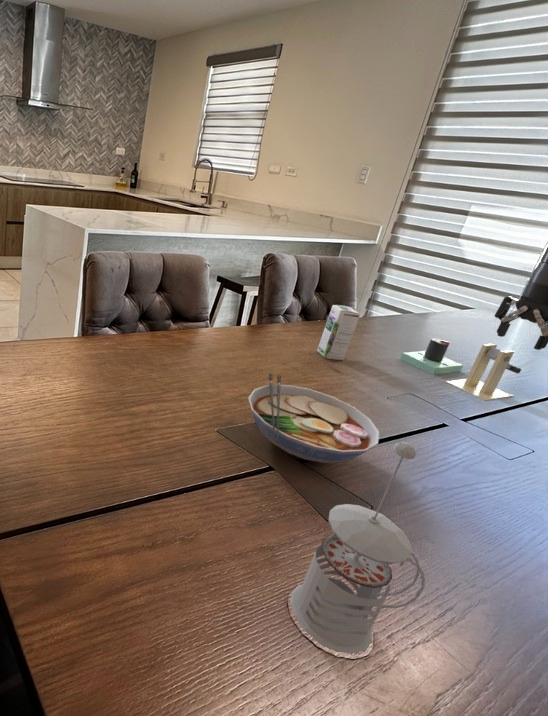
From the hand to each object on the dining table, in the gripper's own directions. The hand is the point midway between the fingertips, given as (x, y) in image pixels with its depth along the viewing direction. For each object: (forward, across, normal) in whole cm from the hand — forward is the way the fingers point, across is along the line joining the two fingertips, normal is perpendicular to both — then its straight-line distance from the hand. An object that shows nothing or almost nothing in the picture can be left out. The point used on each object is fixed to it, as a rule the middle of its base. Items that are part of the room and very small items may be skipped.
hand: (518, 342), depth 122 cm
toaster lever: (+6, -1, +5) cm, 8 cm away
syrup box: (+14, +25, +34) cm, 45 cm away
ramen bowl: (+14, -10, +79) cm, 81 cm away
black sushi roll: (+11, +13, +8) cm, 19 cm away
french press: (+14, -40, +102) cm, 110 cm away
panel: (+14, +13, +8) cm, 21 cm away
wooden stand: (+14, -1, +9) cm, 16 cm away
